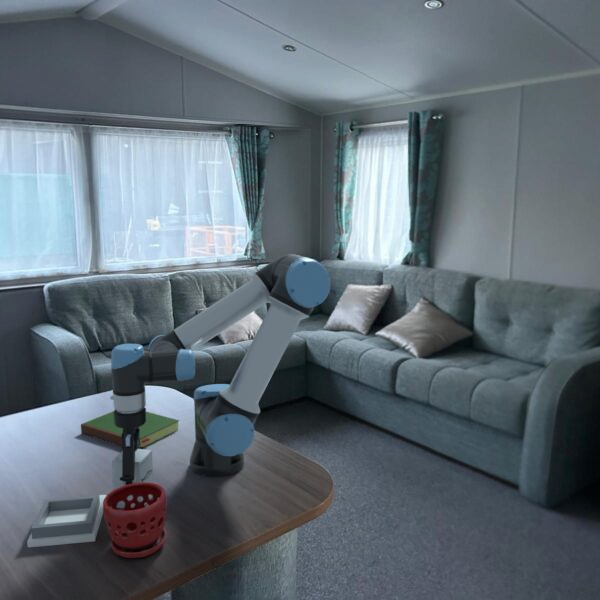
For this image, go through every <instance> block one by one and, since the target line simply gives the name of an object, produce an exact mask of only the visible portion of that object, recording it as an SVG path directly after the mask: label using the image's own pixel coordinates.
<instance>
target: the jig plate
mask: <svg viewBox="0 0 600 600" xmlns="http://www.w3.org/2000/svg"><path fill="white" fill-rule="evenodd" d="M106 496H107V494H98V495H84V496H74V497H73V496H72V497H62V498H50V499H44V501H43V503H42V505H41V508H40V509H39V511H38V513H37V515H36V517H35V520H34V521H33V524H32V526H31V528H30V532H31V533H30V535H29V536H28V538H27V542H26V544H27V548H38V547H48V546H49V547H50V546H58V545H59V546H60V545H69V544H80V543H92V542H96V539H97V536H98V532H99V529H100V524H101V521H102V518H103V516H104V511H103V501H104V499H105V497H106Z"/></svg>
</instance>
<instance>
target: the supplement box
mask: <svg viewBox="0 0 600 600" xmlns="http://www.w3.org/2000/svg"><path fill="white" fill-rule="evenodd" d="M122 454H123V450H121V451H120V452H119V454H117V455H116V456H115V457H114V458H112V460H111V464H112V481H113V482H112V483H113V484H112V485H113V490H115V489H117V488H119V487H122V486H123V481H122V480H121V481H120V477H122ZM153 465H154V464H153V450H152V449H145V448H143V449H137V451H135V473H134V476H135V480H136V483H143V482H145V483H154V469H153V468H154V466H153ZM149 498H150V499H153V496H152V495H149ZM137 500H138V501H143V497H141V496H140V497H138V499H137ZM147 504H148V503H145V504H144V505H145V506H146V505H147ZM124 506H125V505H124V502H123V501H120V502H118V504H117V509H123V508H124ZM134 506H135V504H131V507H134Z"/></svg>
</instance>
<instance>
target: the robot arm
mask: <svg viewBox="0 0 600 600" xmlns="http://www.w3.org/2000/svg"><path fill="white" fill-rule="evenodd" d="M330 292H331V277H330V274H329V272H328V270H327V269H326V267H325V266H324V265H323V264H322V263H320V262H319V261H317V260H316V259H314V258H311V257H306V256H302V255H301V254H295V253H288V254H284V255H281V256H280V257H278V258H276V259H274V260H273V261H271V262H270V263H268V264H266V265H264V266H263V267H262V268H261V269H258V270H257V271H256V272H254V273H253V274H252V277H251V280H248V281H247V282H245V283H244V284H243V285H241V286H240V287H238V288H237V289H234V291H232V292H230V293H229V294H227V295H225V296H224V297H222V298H221V299H219V300H218V301H216V302H215V303H213V304H211V305H210V306H209V307H207V308H206V309H204V310H202V311H201V312H199V313H198V314H196V315H195V316H193V317H191V318H190V319H188V320H187V321H185V322H183V323H182V324H181V325H179V326H177V327H176V328H174V329H173V330H172V331H170V332H168V333H166V334H160V335H157V336H155V337H154V338H153V339H151V341H150V343H149V345H148V351H145V350H144V346H143V345H142V344H139V343H122V344H118V345H116V346H114V347H113V348H112V350H111V359H110V360H111V361H110V362H111V363H110V367H111V369H110V370H111V383H112V385H111V386H112V395H110V397H109V399H110V400H111V401H112V402H113V404H112V405H113V409H114V410H113V411H114V424H115V426H116V427H118V428H122V429H123V433H122V447H121V451H123V454H122V477H120V481H121V480H122V481H123V486H125V485H128V484H133V483H136V480H135V476H134V473H135V451H137V449H144V447H140V445H141V443H140V428H139V427H140V426H142V425H143V424H145V422H146V412H147V408H146V405H147V396H146V393H147V392H146V384H154V383H155V384H156V383H157V384H158V383H168V382H169V383H170V382H183V381H188V380H191V379H193V378H195V374H196V361H195V360H196V359H195V353H194V350H196V349H198V348H200V347H201V346H203V345H204V344H206V343H208V341H210V340H212V339H213V338H215V337H217V336H218V335H219V334H221V333H223V332H224V331H225V330H227V329H229V328H230V327H232V326H233V325H235V324H236V323H238V322H239V321H241V320H242V319H245V317H247V316H249V315H251V313H253V312H255V311H256V310H258V309H259V308H261V307H262V306H264V305H265V304H268V303H269V304H270V306H269V308H268V310H267V312H266V314H265V316H264V318H263V320H262V322H261V324H260V326H259V327H258V329H257V332H256V333H255V335H254V337H253V339H252V341H251V343H250V345H249V347H248V348H247V351H246V353H245V355H244V357H243V359H242V361H241V363H240V364H239V366H238V368H237V370H236V372H235V374H234V376H233V377H232V380H231V382H230V384H227V383H214V384H206V385H202V386H199V387H197V388H195V390H194V391H193V399H192V400H193V404H194V431H195V436H194V437H195V438H194V439H195V441H194V444H193V448H192V451H191V454H190V456H189V468H190V470H191V471H192V472H193V473H194V474H196V475H200V476H202V477H210V478H211V477H212V478H213V477H214V478H216V477H224V476H229V475H232V473H233V474H235V473H237V472H238V470H239V471H240V470H242V469H243V467H244V466H243V465H245V455H244V452H246V450H248V449H249V447H250V446H251V445H252V443H253V441H254V439H255V423H256V421H257V420H258V417H259V415H260V413H261V408H260V406H259V402H260V400H261V398H262V396H263V394H264V392H265V391H266V388H267V387H268V384H269V382H270V380H271V378H272V376H273V374H274V372H275V371H276V369H277V367H278V365H279V363H280V361H281V359H282V358H283V355H284V353H285V352H286V350H287V347H288V346H289V344H290V342H291V340H292V338H293V336H294V334H295V332H296V330H297V328H298V326H299V324H300V322H301V321H302V320H304V319H305V320H306V319H308V318H310V315H311V314H312V312H313V311H314V308H315V307H317V306H319V305H321V304H323V302H324V301H325V300H326V299H327V297H328V295H329V294H330ZM127 499H128V500H132V499H133V496H132V495H130V496H128V497H127ZM133 504H134V503H133ZM124 505H125V503H124Z"/></svg>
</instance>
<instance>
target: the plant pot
mask: <svg viewBox="0 0 600 600" xmlns="http://www.w3.org/2000/svg"><path fill="white" fill-rule="evenodd" d="M166 494H167V493H166V490H165V488H164V487H163V486H161V485H159V484H157V483H154V482H153V483H145V482H143V483H133V484H128V485H125V486H122V487H119V488H117V489H115V490H114V489H113V490H112V491H110V492H109V493H108V494H106V497H105V499H104V501H103V518H104V521H105V524H106V527H107V531H108V534H109V535H110V538H111V543H110V546H111V549H112V551H113V552H114V553H115V554H117V555H118V556H120V557H123V558H127V559H139V558H143V557H146V556H149V555H151V554H153V553H156V552H157V551H158V550H159V549H160V548H162V546H163V545H164V544H165V542H166V539H167V531H166V529H165V525H166V520H167V511H168V510H167V509H168V507H167V495H166ZM130 495H132V496H133V499H132V500H128V499H127V497H128V496H130ZM149 495H152V496H153V497H152V498H151V499H150V498H149ZM140 496H141V497H143V501H138V500H137V499H138V497H140ZM120 501H123V502H124V503H125V506H124V508H121V509H118V508H117V504H118V502H120ZM133 503H134V504H135V506H134V507H131V504H133ZM145 503H147V504H148V505H147V506H146V505H144V504H145Z"/></svg>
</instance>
